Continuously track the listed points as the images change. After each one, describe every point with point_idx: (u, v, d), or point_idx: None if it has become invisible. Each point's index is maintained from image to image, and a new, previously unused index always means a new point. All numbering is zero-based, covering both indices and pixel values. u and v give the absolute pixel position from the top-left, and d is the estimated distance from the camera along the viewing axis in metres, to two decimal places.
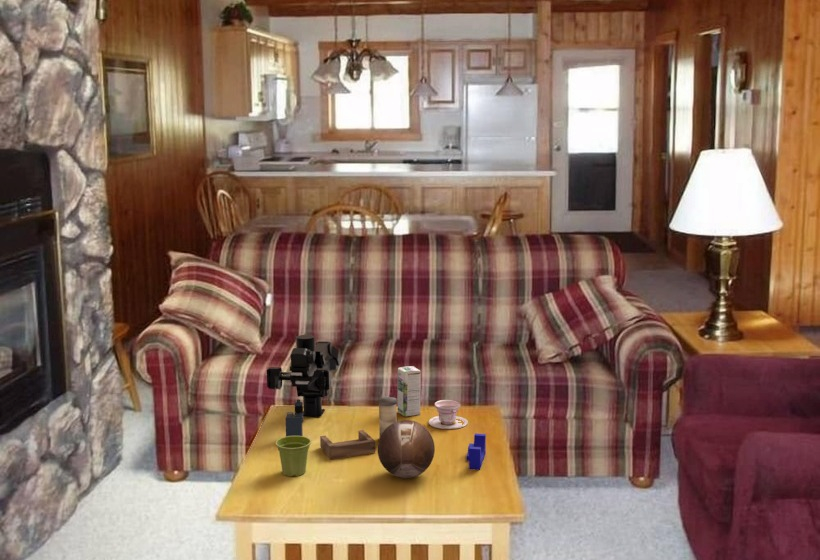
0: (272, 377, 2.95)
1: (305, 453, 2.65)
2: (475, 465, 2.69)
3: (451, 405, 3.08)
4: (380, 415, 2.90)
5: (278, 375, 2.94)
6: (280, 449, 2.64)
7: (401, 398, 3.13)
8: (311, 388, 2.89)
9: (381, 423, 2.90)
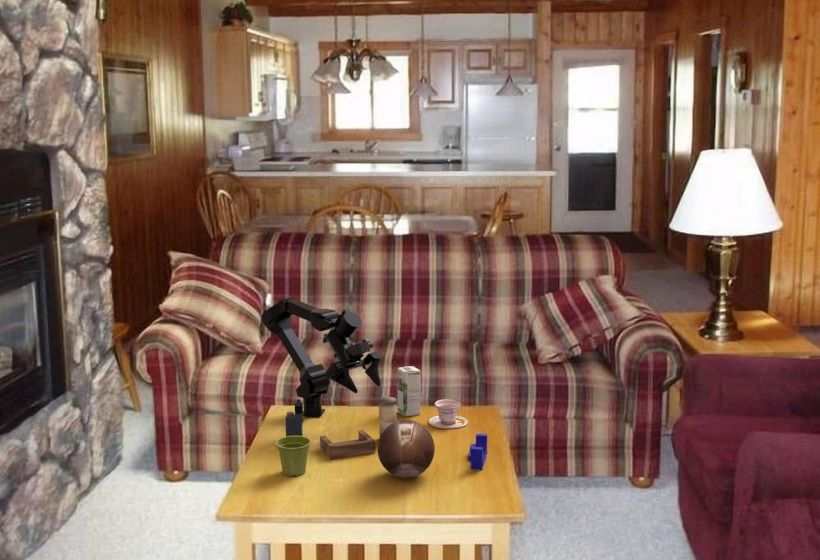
0: (339, 375, 2.92)
1: (305, 453, 2.65)
2: (477, 465, 2.69)
3: (451, 405, 3.09)
4: (380, 415, 2.90)
5: (348, 374, 2.93)
6: (280, 449, 2.64)
7: (401, 398, 3.13)
8: None
9: (381, 423, 2.90)
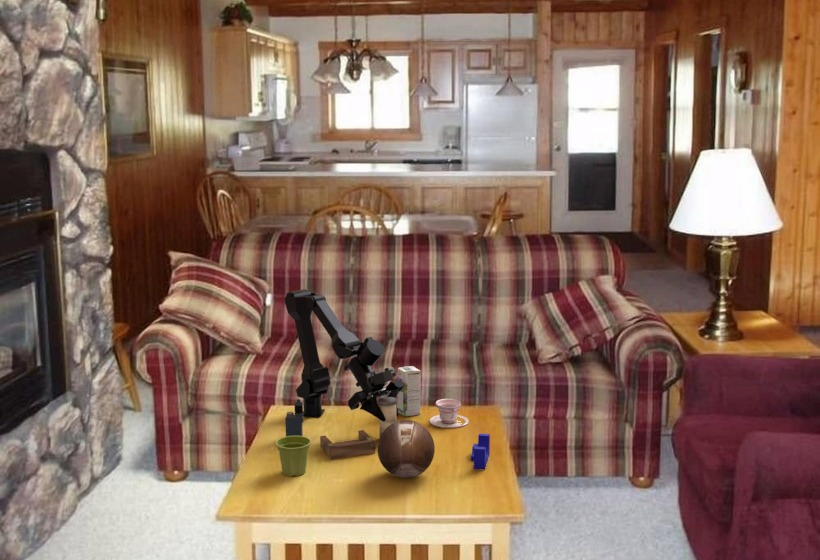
0: (367, 403, 2.89)
1: (305, 453, 2.65)
2: (480, 465, 2.69)
3: (452, 404, 3.09)
4: None
5: (376, 402, 2.89)
6: (280, 449, 2.64)
7: (401, 398, 3.13)
8: None
9: (381, 423, 2.90)
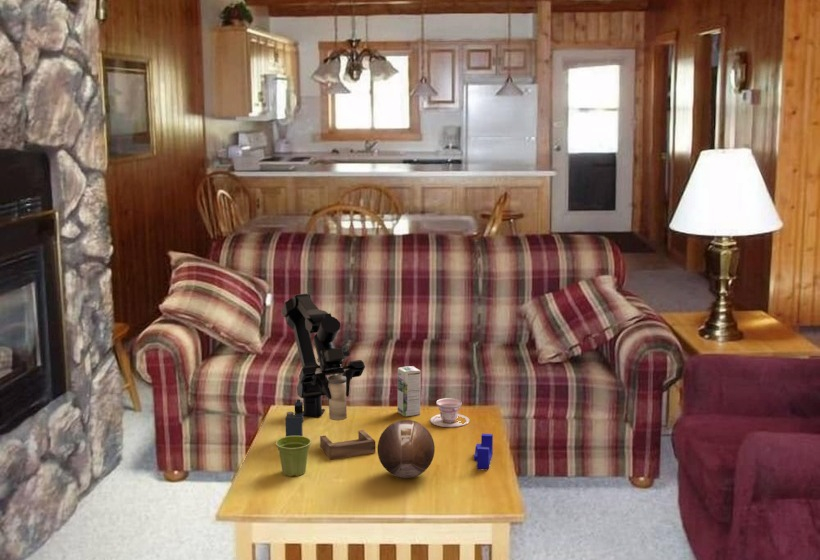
0: (316, 378, 2.89)
1: (305, 453, 2.65)
2: (483, 465, 2.69)
3: (453, 403, 3.10)
4: None
5: (324, 379, 2.89)
6: (280, 449, 2.64)
7: (401, 398, 3.13)
8: None
9: (329, 400, 2.90)
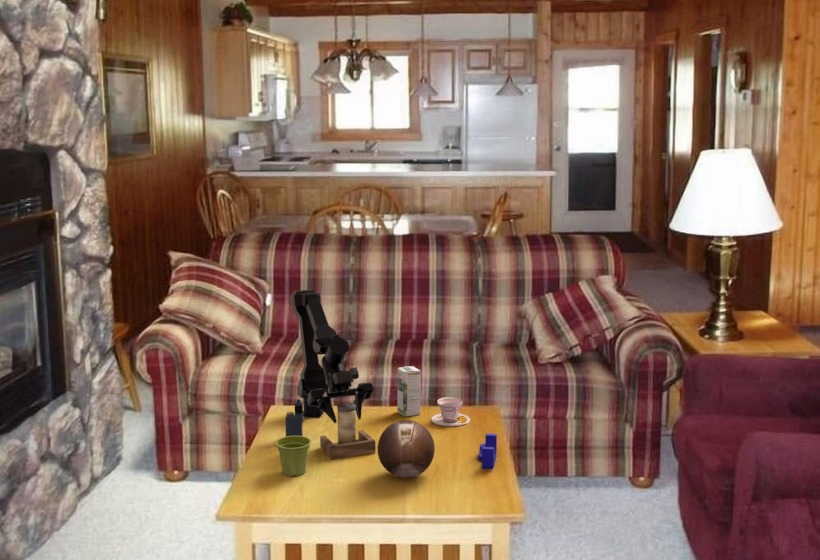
0: (321, 402, 2.83)
1: (305, 453, 2.65)
2: (488, 465, 2.69)
3: (454, 403, 3.11)
4: (338, 420, 2.83)
5: (330, 402, 2.82)
6: (280, 449, 2.64)
7: (401, 398, 3.13)
8: None
9: (338, 429, 2.83)
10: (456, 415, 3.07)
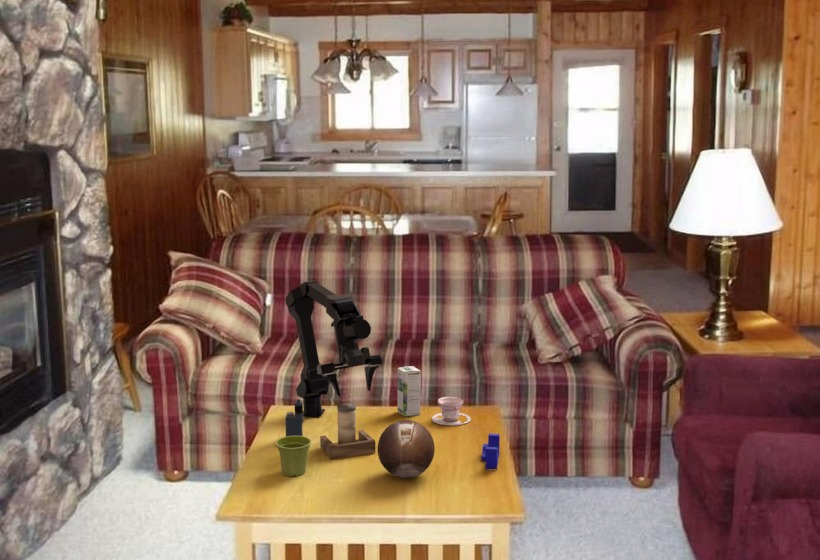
0: None
1: (305, 453, 2.65)
2: (491, 465, 2.69)
3: (454, 402, 3.11)
4: (338, 420, 2.83)
5: (335, 378, 2.90)
6: (280, 449, 2.64)
7: (401, 398, 3.13)
8: None
9: (338, 429, 2.83)
10: (457, 414, 3.07)
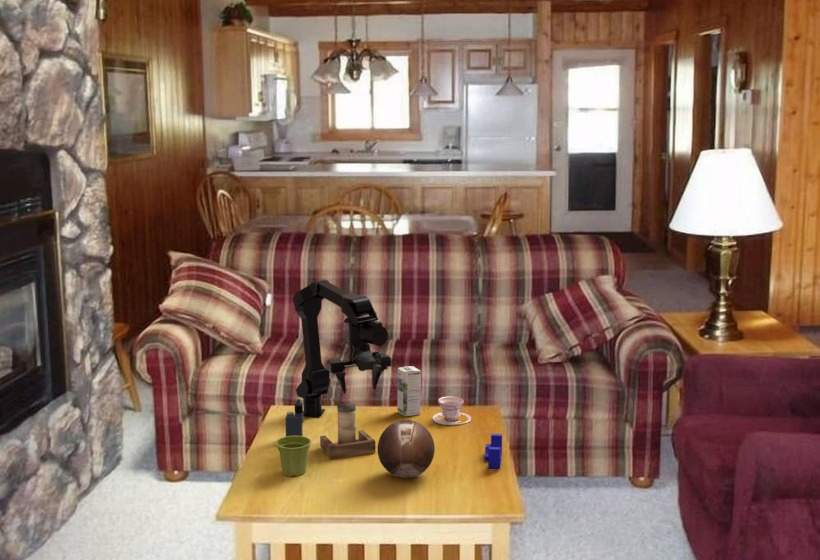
0: None
1: (305, 453, 2.65)
2: (495, 465, 2.69)
3: (455, 402, 3.12)
4: None
5: (343, 377, 2.91)
6: (280, 449, 2.64)
7: (401, 398, 3.13)
8: None
9: (338, 429, 2.83)
10: (457, 414, 3.08)
